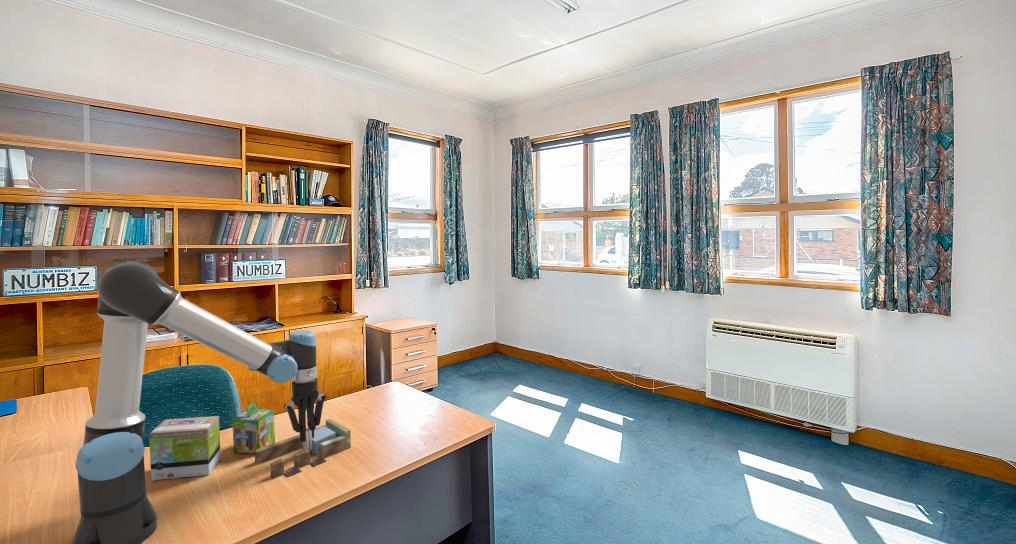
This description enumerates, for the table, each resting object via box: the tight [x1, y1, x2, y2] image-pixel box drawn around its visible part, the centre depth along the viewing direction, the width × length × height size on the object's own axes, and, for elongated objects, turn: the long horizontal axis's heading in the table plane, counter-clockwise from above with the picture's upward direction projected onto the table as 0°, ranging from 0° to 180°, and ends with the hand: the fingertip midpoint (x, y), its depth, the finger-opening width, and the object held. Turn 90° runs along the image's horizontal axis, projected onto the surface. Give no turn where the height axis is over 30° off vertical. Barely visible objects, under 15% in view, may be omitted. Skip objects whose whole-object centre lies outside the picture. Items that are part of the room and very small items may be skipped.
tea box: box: [148, 415, 221, 482], centre depth 135 cm, size 15×10×15 cm
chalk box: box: [231, 402, 276, 455], centre depth 149 cm, size 9×9×15 cm
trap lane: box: [254, 418, 352, 479], centre depth 145 cm, size 25×16×6 cm, turn 140°
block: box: [309, 425, 336, 457], centre depth 150 cm, size 7×7×5 cm
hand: (307, 448), depth 147 cm, fingers closed
